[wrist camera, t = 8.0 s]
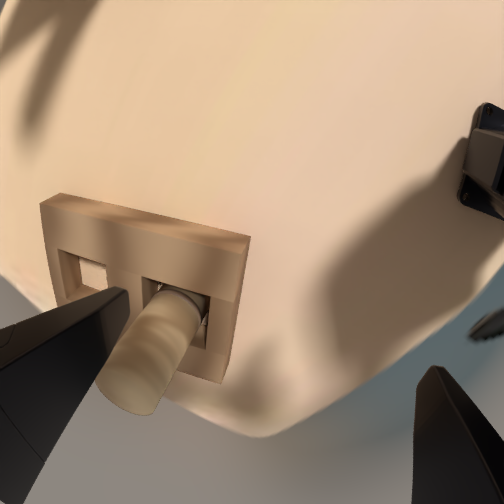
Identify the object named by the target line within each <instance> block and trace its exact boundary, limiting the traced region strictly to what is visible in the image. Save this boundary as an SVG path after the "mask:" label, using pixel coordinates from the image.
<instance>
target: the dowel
mask: <svg viewBox="0 0 504 504" xmlns="http://www.w3.org/2000/svg"><path fill="white" fill-rule="evenodd" d="M210 299H211V296H208V295H204V294H200V293H197V292H193V291H190V290H186V289H183V288H180V287H176V286H173V285H169V284H166V283H164V284H163V285H162V287H161V288H160V289H159V290H158V292H156V293H155V294H154V296H153V297H152V298H151V300H150V301H149V303H148V304H147V306H146V307H145V308H144V309H143V311H142V312H141V313H140V315H139V316H138V317H137V318H136V320H135V321H134V322H133V324H132V325H131V326H130V327H129V329H128V330H127V331H126V333H125V334H124V335H123V336H122V338H121V339H120V340H119V342H118V343H117V344H116V346H115V347H114V349H113V351H112V352H111V354H110V356H109V358H108V360H107V361H106V363H105V365H104V366H103V368H102V369H101V371H100V372H99V374H98V375H97V377H96V379H95V383H96V385H97V386H98V388H99V390H100V391H101V392H102V393H103V395H105V397H106V398H108V399H109V400H110V401H111V402H112V403H114V404H115V405H117V406H118V407H120V408H122V409H123V410H125V411H128V412H130V413H133V414H137V415H142V416H146V415H150V414H152V413H153V412H154V410H155V409H156V407H157V405H158V403H159V401H160V399H161V397H162V395H163V393H164V392H165V390H166V388H167V386H168V384H169V382H170V380H171V378H172V376H173V375H174V373H175V371H176V369H177V367H178V365H179V363H180V361H181V360H182V358H183V356H184V354H185V352H186V350H187V348H188V346H189V345H190V343H191V341H192V339H193V337H194V335H195V334H196V332H197V331H198V329H199V327H200V326H201V323H202V320H203V318H204V317H205V315H206V313H207V311H208V309H209V307H210Z"/></svg>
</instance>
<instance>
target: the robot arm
mask: <svg viewBox="0 0 504 504" xmlns="http://www.w3.org/2000/svg"><path fill="white" fill-rule="evenodd" d="M487 107H488V108H489V109H490V113H489V115H488V114H487V112H486V109H487ZM463 171H464V173H463V177H462V180H461V183H460V186H459V189H458V192H457V199H458V201H459V202H460V203H461V204H463V205H465V206H468V207H470V208H473V209H476V210H478V211H481V212H483V213H486V214H488V215H491V216H493V217H496V218H498V219H501V220H503V221H504V110H503V109H501V108H499V107H497V106H495V105H493V104H491V103H486V102H485V103H483V104H482V105H481V107H480V111H479V115H478V120H477V124H476V128H475V129H474V130H473V131H472V134H471V138H470V142H469V146H468V150H467V154H466V157H465V161H464V164H463ZM465 193H467V198H466V199H463V195H464V194H465ZM129 316H130V302H129V292H128V290H127V289H125V288H122V287H119V286H113V287H110V288H107V289H105V290H102V291H99V292H97V293H94V294H91V295H89V296H86V297H83V298H81V299H78V300H75V301H73V302H70V303H68V304H65V305H62V306H60V307H57V308H54V309H52V310H49V311H47V312H44V313H41V314H39V315H36V316H34V317H31V318H29V319H26V320H23V321H21V322H18V323H16V324H13V325H10V326H8V327H5V328H3V329H0V500H1V501H2V502H3V503H5V504H23V503H24V501H25V499H26V497H27V495H28V493H29V492H30V490H31V488H32V486H33V484H34V482H35V480H36V479H37V477H38V475H39V473H40V471H41V470H42V468H43V466H44V464H45V461H46V460H47V458H48V457H49V455H50V453H51V451H52V450H53V448H54V446H55V444H56V443H57V441H58V439H59V437H60V436H61V434H62V432H63V431H64V429H65V427H66V426H67V424H68V422H69V421H70V419H71V417H72V416H73V414H74V412H75V411H76V409H77V407H78V406H79V404H80V402H81V401H82V399H83V398H84V396H85V394H86V393H87V391H88V390H89V388H90V387H91V385H92V383H93V382H94V380H95V379H96V377H97V375H98V374H99V372H100V371H101V369H102V368H103V366H104V365H105V363H106V361H107V360H108V358H109V356H110V354H111V352H112V351H113V349H114V347H115V345H116V343H117V341H118V339H119V337H120V335H121V333H122V331H123V329H124V327H125V325H126V323H127V321H128V319H129ZM411 504H504V441H503V440H502V438H501V437H500V436H499V434H498V433H497V432H496V430H495V429H494V428H493V426H492V425H491V424H490V423H489V421H488V420H487V419H486V418H485V416H484V415H483V414H482V413H481V411H480V410H479V409H478V407H477V406H476V405H475V404H474V403H473V401H472V400H471V399H470V398H469V396H468V395H467V394H466V393H465V391H464V390H463V389H462V388H461V386H460V385H459V384H458V383H457V382H456V381H455V379H454V378H453V377H452V376H451V375H450V374H449V372H448V371H447V370H446V369H445V368H444V367H442V366H436V365H433V366H431V367H430V368H429V369H428V370H427V372H426V373H425V375H424V376H423V377H422V379H421V380H420V381H419V383H418V385H417V389H416V403H415V420H414V432H413V486H412V502H411Z"/></svg>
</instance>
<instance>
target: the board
mask: <svg viewBox="0 0 504 504" xmlns="http://www.w3.org/2000/svg"><path fill="white" fill-rule="evenodd" d="M40 212H41V220H42V228H43V235H44V242H45V248H46V254H47V260H48V265H49V270H50V275H51V280H52V285H53V289H54V294H55V298H56V302H57V306H58V307H60V306H62V305H65V304H68V303H70V302H73V301H75V300H78V299H81V298H83V297H86V296H89V295H91V294H94V293H97V292H99V290H96V289H94V288H91V287H88V286H86V285H83V284H82V278H81V272H80V265H79V257H78V256H81V257H84V258H87V259H90V260H93V261H96V262H99V263H102V264H105V265H106V273H107V282H108V288H110V287H113V286H119V287H122V288H125V289H127V290H128V292H129V302H130V316H129V319H128V321H127V323H126V325H125V327H124V329H123V331H122V333H121V335H120V337H119V339H118V341H117V343H118V342H119V340H120V339H121V338H122V336H123V335H124V334H125V333H126V331H127V330H128V329H129V327H130V326H131V325H132V324H133V322H134V321H135V320H136V318H137V317H138V316H139V315H140V313H141V312H142V311H143V309H144V308H145V307H146V306H147V304H148V303H149V301H150V300H151V298H152V297H153V296H154V294H155V293H156V292H158V281H159V282H163V283H166V284H169V285H173V286H176V287H180V288H183V289H186V290H190V291H193V292H197V293H200V294H204V295H208V296H211V299H210V308H209V318H208V326H204V325H201V326H200V327H199V329H198V331H197V332H196V334H195V335H194V337H193V339H192V341H191V343H190V345H189V346H188V348H187V350H186V352H185V354H184V356H183V358H182V360H181V361H180V363H179V365H178V367H177V369H176V370H178V371H181V372H184V373H187V374H190V375H193V376H196V377H199V378H202V379H205V380H209V381H212V382H215V383H219V384H221V383H222V380H223V377H224V375H225V372H226V370H227V367H228V364H229V361H230V355H231V349H232V343H233V337H234V331H235V325H236V320H237V314H238V308H239V302H240V296H241V290H242V285H243V279H244V273H245V267H246V261H247V256H248V250H249V244H250V238H251V236H247V235H243V234H238V233H234V232H230V231H226V230H222V229H217V228H213V227H209V226H205V225H200V224H196V223H192V222H187V221H183V220H179V219H175V218H170V217H166V216H162V215H157V214H153V213H148V212H144V211H140V210H135V209H131V208H126V207H122V206H117V205H113V204H108V203H104V202H99V201H95V200H90V199H86V198H81V197H77V196H72V195H68V194H63V193H59V194H57V195H55V196H53V197H51V198H49V199H47V200H45V201H43V202H41V203H40ZM117 343H116V344H117ZM115 346H116V345H115Z"/></svg>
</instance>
